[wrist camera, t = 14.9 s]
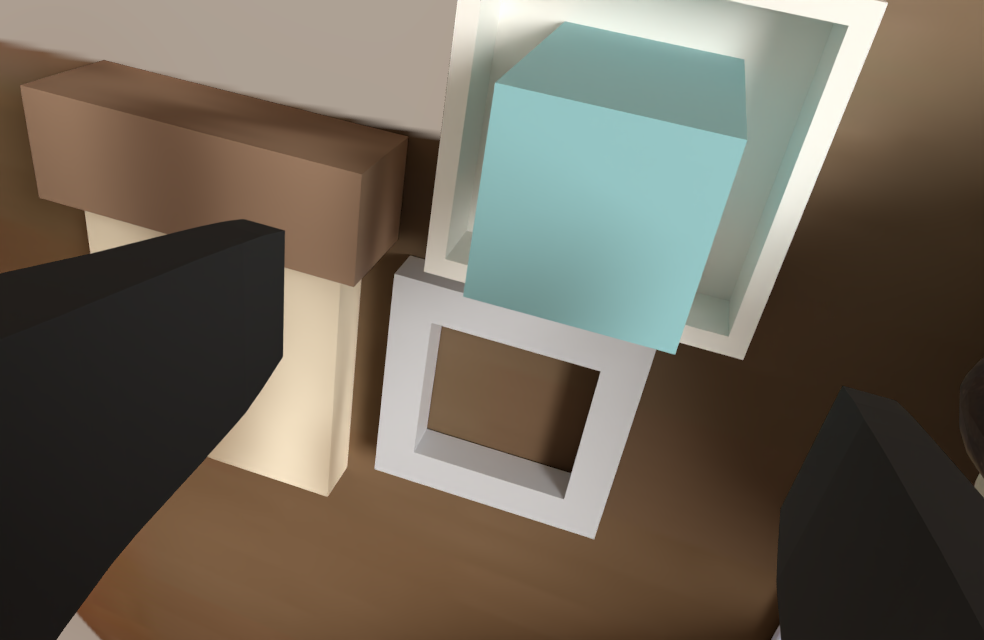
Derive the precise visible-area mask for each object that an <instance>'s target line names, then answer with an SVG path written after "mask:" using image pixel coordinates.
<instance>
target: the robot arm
mask: <svg viewBox="0 0 984 640" xmlns="http://www.w3.org/2000/svg"><path fill="white" fill-rule="evenodd" d="M284 267H285V230H282V229H278V228H274V227H271V226H267V225H264V224H260V223H256V222H253V221H249V220H246V219H238V220H230V221H224V222H218V223H214V224H209V225H204V226H200V227H195V228H191V229H187V230H183V231H179V232H174V233H171V234H167V235H163V236H159V237H155V238H151V239H147V240H143V241H139V242H135V243H131V244H127V245H123V246H119V247H115V248H111V249H107V250H103V251H99V252H95V253H91V254H87V255H83V256H78V257H74V258H69V259H64V260H60V261H55V262H51V263H46V264H42V265H37V266H33V267H28V268H24V269H19V270H14V271H10V272H5V273H1V274H0V640H57V638H58V637H59V635H60V634H61V632H62V631H63V629H64V628H65V627H66V625H67V624H68V623H69V621H70V620H71V619H72V617H73V616H74V615H75V613H76V612H77V610H78V609H79V608H80V606H81V605H82V604H83V602H84V601H85V600H86V598H87V597H88V595H89V594H90V593H91V591H92V590H93V589H94V587H95V586H96V585H97V583H98V582H99V581H100V579H101V578H102V576H103V575H104V574H105V572H106V571H107V570H108V568H109V567H110V566H111V564H112V563H113V562H114V561H115V559H116V558H117V557H118V556H119V555H120V553H121V552H122V551H123V550H124V549H125V547H126V546H127V545H128V544H129V543H130V541H131V540H132V539H133V538H134V537H135V535H136V534H137V533H138V532H139V531H140V530H141V529H142V528H143V527H144V525H145V524H146V523H147V522H148V521H149V520H150V519H151V518H152V517H153V516H154V514H155V513H156V512H157V511H158V510H159V509H160V508H161V507H162V506H163V505H164V503H165V502H166V501H167V500H168V499H169V498H170V497H171V496H172V495H173V494H174V492H175V491H176V490H177V489H178V488H179V487H180V486H181V485H182V484H183V483H184V481H185V480H186V479H187V478H188V477H189V476H190V475H191V474H192V473H193V472H194V471H195V469H196V468H197V467H198V466H199V465H200V464H201V463H202V462H203V461H204V460H205V458H206V457H207V456H208V455H209V454H210V453H211V452H212V451H213V450H214V448H215V447H216V446H217V445H218V444H219V443H220V442H221V441H222V439H223V438H224V437H225V436H226V435H227V434H228V433H229V432H230V430H231V429H232V428H233V427H234V426H235V425H236V424H237V422H238V421H239V420H240V419H241V418H242V417H243V416H244V414H245V413H246V412H247V410H248V409H249V408H250V406H251V405H252V403H253V402H254V400H255V399H256V398H257V396H258V395H259V393H260V392H261V390H262V389H263V387H264V386H265V384H266V383H267V381H268V380H269V378H270V376H271V375H272V373H273V372H274V370H275V369H276V367H277V366H278V364H279V362H280V361H281V359H282V358H283V330H284ZM776 582H777V596H778V609H779V622H780V625H779V627H778V628H777V630H776V632H775V634H774V635H773V637H772V639H771V640H984V497H983V496H982V495H981V494H980V493H979V492H978V490H977V489H976V488H975V487H974V486H973V485H972V484H971V483H970V481H969V480H968V479H967V478H966V477H965V476H964V475H963V473H962V472H961V471H960V470H959V469H958V468H957V466H956V465H955V464H954V463H953V462H952V461H951V460H950V458H949V457H948V456H947V455H946V454H945V453H944V452H943V450H942V449H941V448H940V447H939V446H938V445H937V444H936V442H935V441H934V440H933V439H932V438H931V437H930V436H929V435H928V433H927V432H926V431H925V430H924V429H923V428H922V427H921V426H920V425H919V423H918V422H917V421H916V420H915V419H914V418H913V417H912V416H911V415H910V414H909V413H908V412H907V411H906V410H905V409H904V408H903V407H902V406H901V405H900V404H899V403H898V402H897V401H896V400H892V399H888V398H885V397H881V396H878V395H874V394H870V393H867V392H863V391H860V390H856V389H853V388H849V387H845V386H842V388H841V390H840V392H839V394H838V395H837V397H836V399H835V401H834V403H833V405H832V407H831V409H830V411H829V413H828V415H827V417H826V419H825V421H824V423H823V425H822V427H821V429H820V431H819V433H818V435H817V437H816V439H815V441H814V443H813V445H812V447H811V449H810V451H809V453H808V455H807V457H806V459H805V461H804V463H803V465H802V467H801V469H800V471H799V473H798V475H797V477H796V479H795V481H794V483H793V485H792V487H791V489H790V491H789V493H788V495H787V497H786V499H785V501H784V503H783V505H782V507H781V510H780V525H779V539H778V557H777V581H776Z"/></svg>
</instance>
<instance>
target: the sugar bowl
mask: <svg viewBox="0 0 984 640" xmlns="http://www.w3.org/2000/svg"><path fill="white" fill-rule="evenodd" d="M959 429H960V432H961V435H962V439H963V442H964V446H965V449H966V452H967V454H968V456H969V457H970V459H971V460H972V462H973V463H974V465H975V466H976V468H977V469H978V471H979V472H980V473H979V475H978V477H977V479H976V481H975V485H974V487H975V488H976V489H977V490H978V492H979V493H980V494H981V495H982V496H983V497H984V358H982V359H981V360H980V361H979V362H978V363H976V365H975V366H974V367H973V368H972V369H971V370H970V371H969V372H968V373H967V374H966V376H965V378H964V380H963V381H962V383H961V385H960V409H959Z"/></svg>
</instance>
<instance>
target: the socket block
mask: <svg viewBox="0 0 984 640" xmlns="http://www.w3.org/2000/svg"><path fill="white" fill-rule="evenodd" d="M424 266H425V259H421V258H418V257H414V256H411V255H410V256H409V257H408V258H407V260H406V261H405V262H404V263H403V264H402V265H401V267H400V268H399V269H398V270H397V271H396V272H395V274H394V282H393V292H392V302H391V312H390V322H389V332H388V342H387V352H386V361H385V371H384V381H383V391H382V401H381V411H380V421H379V431H378V440H377V450H376V460H375V469H376V470H379V471H382V472H385V473H389V474H392V475H395V476H398V477H401V478H404V479H407V480H410V481H414V482H417V483H420V484H423V485H426V486H429V487H432V488H435V489H439V490H442V491H445V492H448V493H451V494H454V495H457V496H460V497H464V498H467V499H470V500H473V501H476V502H479V503H482V504H485V505H489V506H492V507H495V508H498V509H501V510H504V511H507V512H510V513H514V514H517V515H520V516H523V517H526V518H529V519H532V520H535V521H539V522H542V523H545V524H548V525H551V526H554V527H557V528H561V529H564V530H567V531H570V532H573V533H576V534H579V535H582V536H586V537H589V538H592V539H594V538H595V535H596V531H597V528H598V525H599V522H600V519H601V516H602V513H603V510H604V507H605V504H606V501H607V498H608V495H609V492H610V489H611V486H612V483H613V480H614V477H615V474H616V471H617V468H618V465H619V462H620V459H621V456H622V453H623V449H624V446H625V443H626V440H627V437H628V434H629V431H630V428H631V425H632V422H633V419H634V416H635V413H636V410H637V407H638V404H639V401H640V398H641V395H642V392H643V389H644V386H645V383H646V380H647V377H648V374H649V371H650V367H651V364H652V361H653V358H654V355H655V352H656V349H653V348H649V347H645V346H642V345H638V344H634V343H631V342H627V341H623V340H620V339H616V338H613V337H609V336H605V335H602V334H598V333H594V332H591V331H587V330H583V329H580V328H576V327H572V326H569V325H565V324H561V323H558V322H554V321H550V320H547V319H543V318H539V317H536V316H532V315H528V314H525V313H521V312H517V311H514V310H510V309H506V308H503V307H499V306H495V305H492V304H488V303H484V302H481V301H477V300H473V299H470V298H466V297H463V293H464V286H465V283H463V282H460V281H456V280H452V279H449V278H445V277H442V276H438V275H434V274H431V273H427V272H424ZM442 326H444V327H447V328H451V329H454V330H458V331H461V332H465V333H468V334H472V335H475V336H479V337H482V338H486V339H489V340H493V341H496V342H500V343H503V344H507V345H510V346H514V347H517V348H520V349H524V350H527V351H531V352H534V353H538V354H541V355H545V356H548V357H552V358H555V359H559V360H562V361H566V362H569V363H573V364H576V365H580V366H583V367H587V368H590V369H594V370H597V371H600V375H599V378H598V382H597V385H596V389H595V392H594V396H593V399H592V403H591V406H590V410H589V413H588V417H587V420H586V424H585V427H584V431H583V434H582V438H581V441H580V444H579V448H578V451H577V455H576V458H575V462H574V465H573V469H572V472H571V473H568V472H565V471H562V470H559V469H555V468H552V467H549V466H546V465H542V464H539V463H536V462H533V461H529V460H526V459H523V458H520V457H517V456H513V455H510V454H507V453H504V452H500V451H497V450H494V449H491V448H487V447H484V446H481V445H478V444H474V443H471V442H468V441H465V440H461V439H458V438H455V437H452V436H448V435H445V434H442V433H439V432H435V431H432V430H429V429H427V423H428V416H429V410H430V403H431V396H432V389H433V382H434V375H435V368H436V361H437V354H438V347H439V340H440V334H441V327H442Z"/></svg>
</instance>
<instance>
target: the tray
mask: <svg viewBox="0 0 984 640" xmlns="http://www.w3.org/2000/svg"><path fill="white" fill-rule="evenodd" d="M887 5H888V2H886V1H885V0H457V9H456V16H455V24H454V32H453V40H452V49H451V58H450V65H449V73H448V82H447V89H446V97H445V105H444V113H443V122H442V129H441V137H440V145H439V153H438V161H437V169H436V177H435V185H434V193H433V201H432V209H431V217H430V226H429V234H428V242H427V250H426V258H425V266H424V272H427V273H431V274H434V275H438V276H442V277H445V278H449V279H452V280H456V281H460V282H463V283H465V280H466V273H467V266H468V260H469V253H470V246H471V240H472V233H473V226H474V220H475V213H476V206H477V200H478V193H479V186H480V180H481V173H482V166H483V160H484V153H485V146H486V140H487V133H488V126H489V120H490V113H491V106H492V100H493V93H494V86H495V82H496V81H497V80H499V79H500V78H501V77H502V76H503V75H504V74H505V73H507V72H508V71H509V70H510V69H511V68H512V67H513V66H515V65H516V64H517V63H518V62H519V61H520V60H521V59H523V58H524V57H525V56H526V55H527V54H528V53H529V52H531V51H532V50H533V49H534V48H535V47H536V46H537V45H539V44H540V43H541V42H542V41H543V40H544V39H545V38H547V37H548V36H549V35H550V34H551V33H552V32H553V31H555V30H556V29H557V28H558V27H559V26H560V25H561V24H563V23H564V22H565V21H566V22H571V23H576V24H580V25H585V26H590V27H594V28H599V29H604V30H608V31H613V32H618V33H623V34H627V35H632V36H637V37H641V38H646V39H651V40H655V41H660V42H665V43H670V44H674V45H679V46H684V47H688V48H693V49H698V50H702V51H707V52H712V53H717V54H721V55H726V56H731V57H735V58H740V59H744V63H745V90H746V117H747V143H746V146H745V149H744V152H743V155H742V158H741V161H740V163H739V166H738V169H737V172H736V175H735V178H734V181H733V184H732V187H731V190H730V193H729V196H728V199H727V202H726V205H725V208H724V211H723V214H722V217H721V220H720V223H719V226H718V229H717V232H716V235H715V238H714V241H713V244H712V247H711V250H710V253H709V256H708V259H707V261H706V264H705V267H704V270H703V273H702V276H701V279H700V282H699V285H698V288H697V291H696V294H695V297H694V300H693V303H692V306H691V309H690V312H689V315H688V318H687V321H686V324H685V327H684V330H683V333H682V336H681V339H680V343H683V344H687V345H690V346H694V347H698V348H701V349H705V350H708V351H712V352H716V353H719V354H723V355H726V356H730V357H734V358H737V359H741V360H743V359H744V357H745V354H746V352H747V349H748V347H749V344H750V342H751V339H752V337H753V335H754V332H755V330H756V327H757V325H758V322H759V320H760V317H761V315H762V312H763V310H764V307H765V305H766V303H767V300H768V298H769V295H770V293H771V290H772V288H773V285H774V283H775V280H776V278H777V275H778V273H779V271H780V268H781V266H782V263H783V261H784V258H785V256H786V253H787V251H788V248H789V246H790V243H791V241H792V239H793V236H794V234H795V231H796V229H797V226H798V224H799V221H800V219H801V216H802V214H803V211H804V209H805V207H806V204H807V202H808V199H809V197H810V194H811V192H812V189H813V187H814V184H815V182H816V179H817V177H818V175H819V172H820V170H821V167H822V165H823V162H824V160H825V157H826V155H827V152H828V150H829V147H830V145H831V143H832V140H833V138H834V135H835V133H836V130H837V128H838V125H839V123H840V120H841V118H842V115H843V113H844V111H845V108H846V106H847V103H848V101H849V98H850V96H851V93H852V91H853V88H854V86H855V83H856V81H857V79H858V76H859V74H860V71H861V69H862V66H863V64H864V61H865V59H866V56H867V54H868V51H869V49H870V47H871V44H872V42H873V39H874V37H875V34H876V32H877V29H878V27H879V24H880V22H881V19H882V17H883V15H884V12H885V10H886V7H887Z"/></svg>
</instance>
